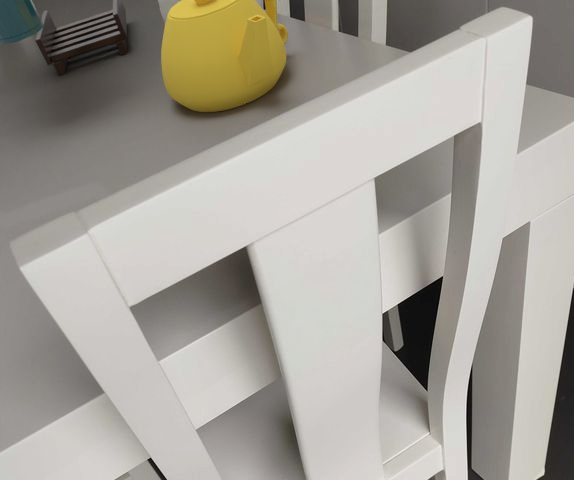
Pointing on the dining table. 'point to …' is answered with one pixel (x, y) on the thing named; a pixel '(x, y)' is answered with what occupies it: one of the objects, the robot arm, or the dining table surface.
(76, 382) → the dining table surface
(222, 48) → the teapot
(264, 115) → the dining table surface
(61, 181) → the dining table surface
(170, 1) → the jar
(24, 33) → the cup
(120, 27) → the rack
